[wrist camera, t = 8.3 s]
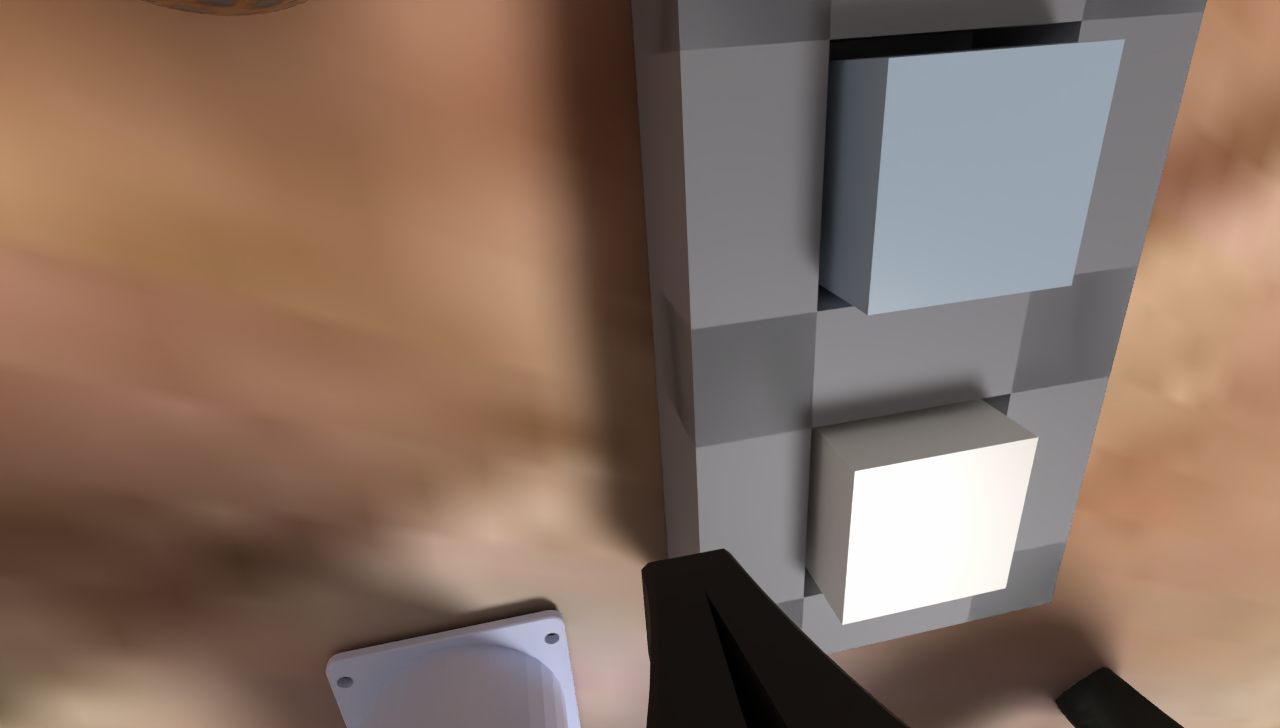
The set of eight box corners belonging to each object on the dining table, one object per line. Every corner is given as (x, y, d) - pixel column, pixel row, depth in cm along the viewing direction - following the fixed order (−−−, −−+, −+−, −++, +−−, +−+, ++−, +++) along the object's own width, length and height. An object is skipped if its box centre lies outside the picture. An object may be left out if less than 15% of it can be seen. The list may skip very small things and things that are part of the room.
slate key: (958, 244, 18) (1071, 285, 15) (791, 266, 17) (868, 315, 14) (985, 47, 16) (1125, 39, 13) (796, 62, 15) (888, 58, 12)
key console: (963, 520, 26) (1051, 602, 22) (669, 579, 24) (705, 682, 20) (1067, -84, 17) (1241, -132, 13) (626, -64, 15) (673, -113, 11)
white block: (922, 505, 22) (1005, 588, 18) (783, 532, 21) (842, 624, 18) (940, 372, 20) (1038, 436, 16) (787, 397, 19) (854, 471, 16)
